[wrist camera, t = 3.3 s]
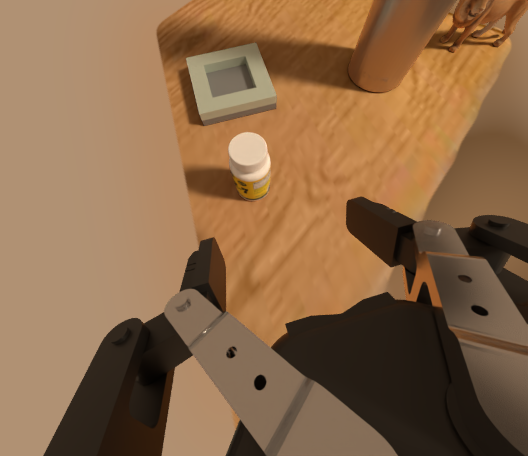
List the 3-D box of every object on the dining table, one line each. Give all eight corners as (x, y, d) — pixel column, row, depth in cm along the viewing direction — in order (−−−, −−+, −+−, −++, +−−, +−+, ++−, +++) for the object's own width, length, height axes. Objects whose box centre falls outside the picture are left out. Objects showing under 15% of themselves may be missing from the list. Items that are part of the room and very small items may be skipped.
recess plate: (191, 72, 33) (185, 57, 31) (256, 57, 34) (256, 42, 31) (204, 125, 30) (199, 114, 28) (276, 108, 31) (276, 95, 28)
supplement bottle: (230, 183, 27) (215, 143, 19) (257, 166, 28) (253, 120, 20) (249, 208, 26) (241, 177, 18) (276, 190, 27) (280, 152, 19)
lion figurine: (435, 62, 33) (496, -16, 24) (420, 42, 34) (473, -39, 25) (510, 45, 33) (595, -37, 25) (492, 25, 35) (568, -59, 26)
